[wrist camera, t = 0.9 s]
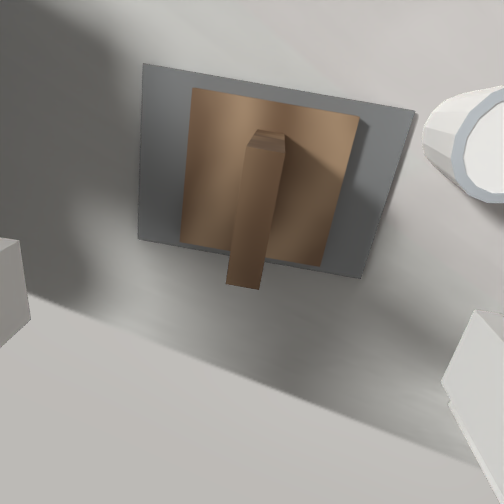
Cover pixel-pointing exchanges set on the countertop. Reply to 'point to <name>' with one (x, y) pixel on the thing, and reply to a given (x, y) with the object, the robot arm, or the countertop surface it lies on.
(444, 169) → the white grey-rimmed cup
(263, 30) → the countertop surface
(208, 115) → the board
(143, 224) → the mat
